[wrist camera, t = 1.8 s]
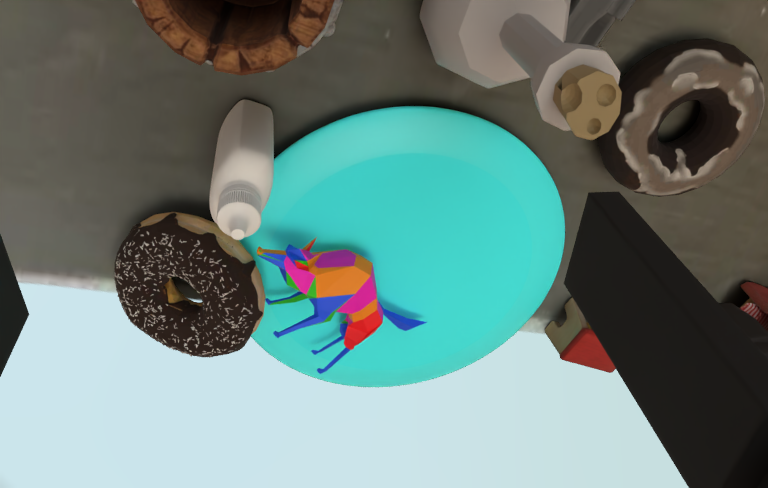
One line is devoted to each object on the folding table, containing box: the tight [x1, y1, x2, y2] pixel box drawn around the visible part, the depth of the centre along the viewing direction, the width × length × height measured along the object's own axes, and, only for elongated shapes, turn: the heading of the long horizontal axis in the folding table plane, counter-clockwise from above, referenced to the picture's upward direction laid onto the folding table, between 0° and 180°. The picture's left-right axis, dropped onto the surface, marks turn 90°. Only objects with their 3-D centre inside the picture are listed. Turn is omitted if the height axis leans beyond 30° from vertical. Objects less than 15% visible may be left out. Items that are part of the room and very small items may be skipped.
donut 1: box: [114, 212, 266, 357], centre depth 46 cm, size 11×12×4 cm
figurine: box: [257, 237, 427, 374], centre depth 46 cm, size 4×15×9 cm
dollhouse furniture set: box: [545, 282, 768, 373], centre depth 56 cm, size 12×22×9 cm, turn 64°
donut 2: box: [598, 39, 765, 197], centre depth 45 cm, size 12×12×4 cm
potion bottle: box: [419, 0, 622, 140], centre depth 33 cm, size 9×9×18 cm
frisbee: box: [239, 106, 565, 387], centre depth 50 cm, size 27×27×2 cm
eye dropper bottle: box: [209, 100, 274, 240], centre depth 38 cm, size 4×6×12 cm
